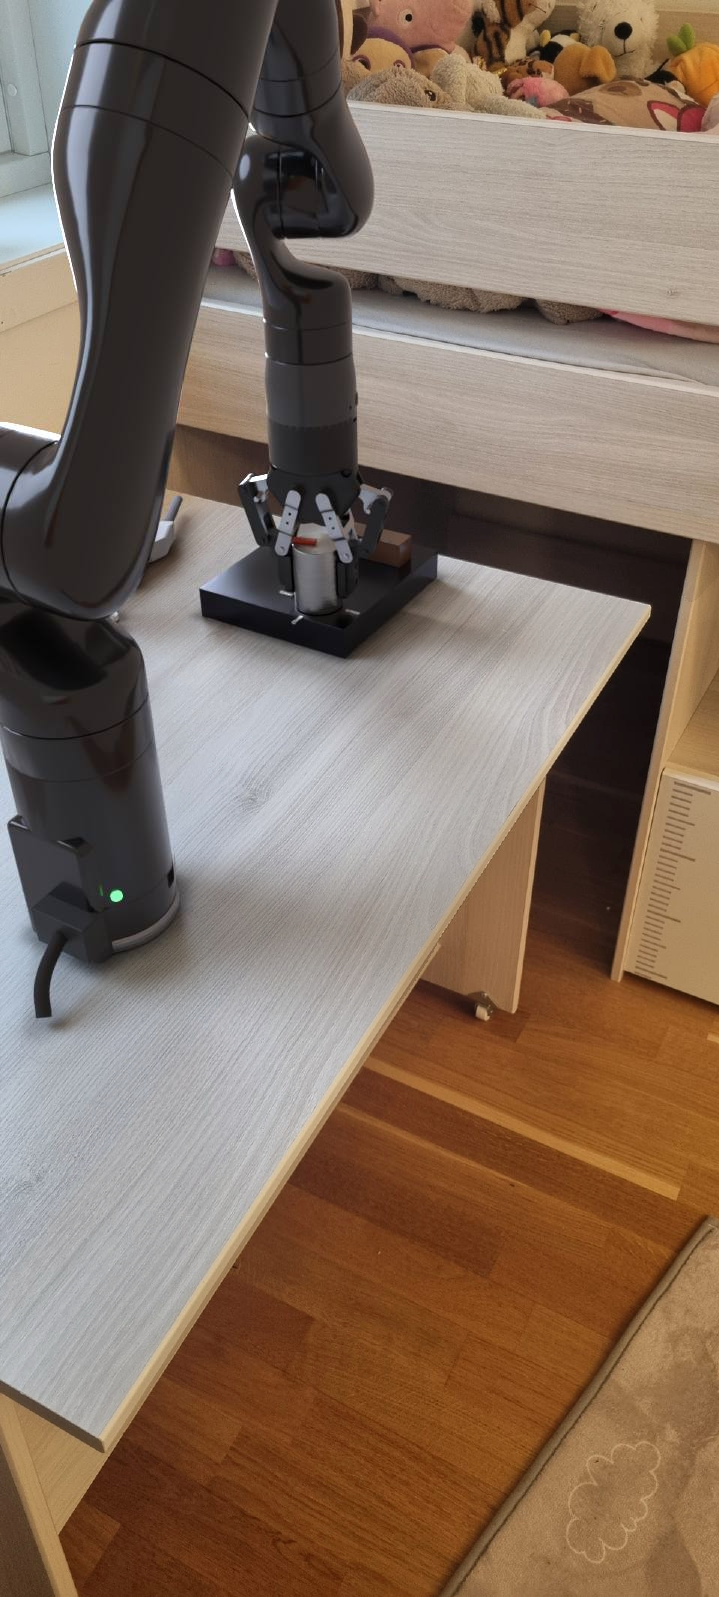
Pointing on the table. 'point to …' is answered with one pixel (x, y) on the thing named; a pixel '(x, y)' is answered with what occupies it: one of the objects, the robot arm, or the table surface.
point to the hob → (268, 609)
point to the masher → (389, 550)
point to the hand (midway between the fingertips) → (319, 590)
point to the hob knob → (315, 574)
